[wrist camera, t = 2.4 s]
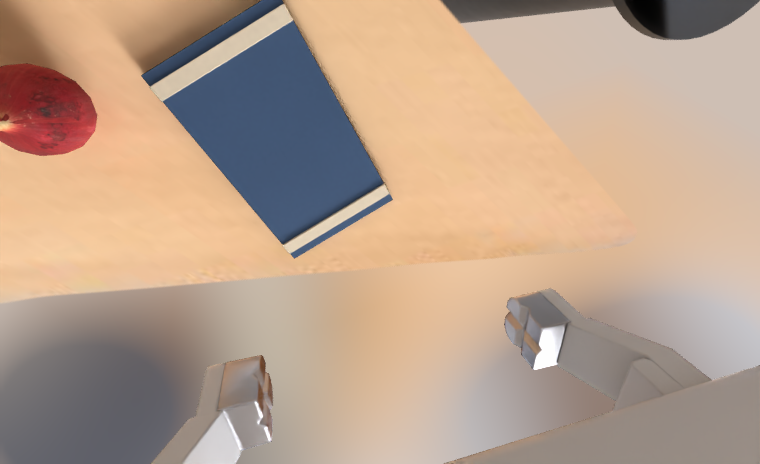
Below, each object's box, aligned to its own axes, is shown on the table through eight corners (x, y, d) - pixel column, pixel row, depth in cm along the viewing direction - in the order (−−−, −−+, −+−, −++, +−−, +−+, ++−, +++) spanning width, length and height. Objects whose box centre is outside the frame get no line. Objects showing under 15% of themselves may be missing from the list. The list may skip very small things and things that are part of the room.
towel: (276, -8, 27) (276, -10, 26) (390, 196, 37) (393, 200, 36) (145, 74, 27) (139, 75, 26) (294, 253, 38) (294, 260, 37)
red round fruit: (94, 58, 26) (29, 64, 19) (125, 137, 29) (78, 166, 22) (2, 64, 25) (-103, 72, 18) (43, 145, 28) (-34, 178, 21)
